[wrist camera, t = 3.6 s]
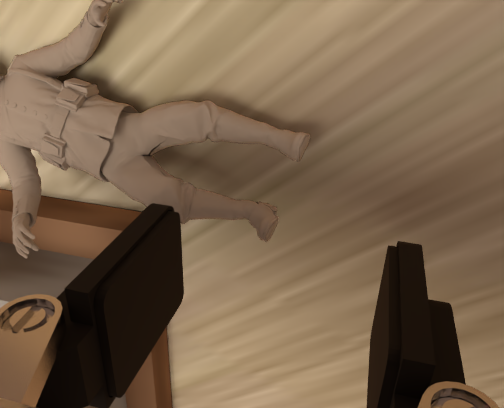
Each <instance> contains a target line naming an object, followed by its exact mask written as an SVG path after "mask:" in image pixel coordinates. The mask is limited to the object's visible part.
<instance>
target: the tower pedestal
mask: <svg viewBox="0 0 504 408" xmlns="http://www.w3.org/2000/svg"><path fill="white" fill-rule="evenodd" d="M141 213H142V212H138V211H132V210H126V209H120V208H113V207H107V206H101V205H95V204H89V203H82V202H76V201H70V200H64V199H57V198H51V197H45V196H41V200H40V204H39V208H38V212H37V219H36V223H35V224H34V226H32V227H31V228H30V231H31V233H32V234H33V235H34V236H35V239H33V241H34V243H35V244H36V245H37V246H38V247H39V250H38V251H35V250H33V249H32V248H29V247H28V246H25V245H24V246H25V247H26V248H27V249H28V250H29V254H27V253H26V254H27V255H28V258H27V259H26V258H24V257H23V256H21V255H20V254H19V253H18V252H17V250H16V247H15V245H14V244H13V231H12V214H13V194H12V191H8V190H1V189H0V308H1V307H2V306H4V305H5V304H7V303H8V302H10V301H13V300H15V299H17V298H20V297H24V296H27V295H35V294H43V295H50V296H52V297H55V298H57V297H58V296H59V295H60V294H61V293H62V292H63V291H64V290H65V289H64V288H65V287H66V286H67V285H68V284H69V283H70V282H71V281H72V280H73V279H74V278H75V277H77V276H78V275H79V274H80V273H81V272H82V271H83V270H84V269H85V268H86V267H87V266H88V265H89V264H90V263H91V262H92V261H93V260H94V259H95V258H96V257H97V256H98V255H99V254H100V253H101V252H102V251H103V250H104V249H105V248H106V247H107V246H108V245H109V244H110V243H111V242H112V241H113V240H114V239H115V238H116V237H117V236H118V235H119V234H120V233H121V232H122V231H123V230H124V229H125V228H126V227H127V226H129V225H130V224H131V223H132V222H133V221H134V220H135V219H136V218H137V217H138V216H139V215H140V214H141ZM84 408H97V407H93V406H87V407H84ZM109 408H172V398H171V384H170V370H169V357H168V343H167V329H166V328H165V330H164V332H163V333H162V335H161V336H160V338H159V340H158V341H157V343H156V344H155V346H154V348H153V349H152V351H151V352H150V354H149V356H148V357H147V359H146V360H145V362H144V364H143V365H142V367H141V368H140V370H139V372H138V373H137V375H136V376H135V378H134V380H133V381H132V383H131V384H130V386H129V388H128V389H127V391H126V392H125V394H124V395H123V396H122V397H121V398H117V397H116V398H115V400H114V401H113V403H112V404H111V406H110V407H109Z"/></svg>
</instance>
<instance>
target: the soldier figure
mask: <svg viewBox="0 0 504 408" xmlns="http://www.w3.org/2000/svg"><path fill="white" fill-rule="evenodd" d="M112 2H118V3H122V2H123V0H94V1H92V3H91V5H90V7H89V9H88V11H87V12H86V13H85V16H84V18H83V19H82V21H81V22H80V24H79V25H78V26H77V27H76V28H74V29H73V31H72V32H70V33H69V35H68V37H65V38H64V39H62V40H61V41H60V42H57V43H55V44H53V45H48V46H45V47H42V48H40V49H37V50H33V51H30V52H27V53H25V54H22V55H15V57H14V58H13V60H12V62H11V64H10V66H9V68H8V69H7V71H8V72H7V74H6V75H5V76H0V163H1V165H2V167H3V168H4V170H5V171H6V172H7V175H8V177H9V179H10V184H11V186H12V188H13V189H12V194H13V214H12V231H13V244H14V245H15V247H16V250H17V252H18V253H19V254H20V255H21V256H23V257H24V258H26V259H27V258H28V255H27V254H29V250H28V249H27V248H26V247H25V246H28V247H29V248H32V249H33V250H35V251H38V250H39V247H38V246H37V245H36V244H35V243H34V241H33V239H35V236H34V235H33V234H32V233H31V231H30V228H31V227H32V226H34V224H35V223H36V219H37V212H38V208H39V204H40V200H41V178H40V176H39V174H38V169H37V167H36V160H35V157H34V156H33V155H32V153H31V149H33V150H36V151H39V154H40V156H41V157H42V158H43V159H44V160H45V161H47V162H49V163H51V164H53V165H55V166H57V167H59V168H61V169H63V170H65V171H66V170H67V168H68V167H70V166H71V167H73V168H75V169H79V170H83V171H85V172H87V173H88V174H90V175H92V176H94V177H95V178H97V179H99V180H101V181H104V182H111V183H112V184H114V185H115V186H116V187H117V188H119V189H120V190H122V191H123V192H125V193H126V194H127V195H128V196H129V197H130V198H132V199H133V200H135V201H138V202H141V203H143V204H144V205H145V206H146V207H148V206H149V205H150V204H152V203H155V204H162V205H168V206H172V207H173V208H174V211H175V212H178V213H179V215H180V223H182V224H185V223H186V222H188V221H189V220H192V219H229V220H236V219H244V218H245V219H248V220H249V222H250V223H251V225H252V226H253V227H255V228H256V230H257V234H258V237H259V238H260V239H261V240H264V241H265V242H267V241H268V240H269V239H270V238H271V236H272V234H273V232H274V230H275V228H276V226H277V223H278V219H279V218H278V216H276V212H277V207H275V206H271V205H270V204H268V203H262V202H254V201H250V200H235V199H232V198H229V197H226V196H223V195H220V194H217V193H214V192H210V191H207V190H203V189H196V188H195V187H194V186H193V185H192V184H190V183H183V181H182V180H181V179H179V178H175V177H173V176H172V175H170V174H168V173H167V172H166V171H165V170H164V169H163V168H162V167H161V166H159V165H158V163H157V161H156V160H155V158H154V157H153V156H152V155H153V154H154V153H156V152H158V151H160V150H162V149H165V148H168V147H170V146H176V145H184V144H189V143H192V142H204V141H205V140H207V139H208V138H209V139H210V140H211V141H213V142H219V141H227V142H234V143H244V144H264V145H267V146H269V147H272V148H275V149H279V151H280V152H281V153H282V154H284V155H286V156H288V157H289V158H290V159H292V160H296V161H297V162H298V161H300V160H301V158H302V156H303V154H304V152H305V150H306V148H307V145H308V143H309V140H310V134H308V133H304V132H298V133H295V132H292V131H290V130H287V129H285V130H281V129H277V128H275V127H273V126H270V125H269V124H267V123H264V122H259V121H256V120H253V119H251V118H248V117H245V116H243V115H240V114H238V113H235V112H233V111H231V110H228V109H225V108H222V107H219V106H217V105H216V104H214V103H213V102H211V101H209V100H205V101H203V102H194V101H188V100H184V101H178V102H171V103H165V104H161V105H157V106H154V107H152V108H150V109H148V110H146V111H144V112H142V113H138V112H137V110H136V109H135V108H134V107H132V106H131V105H129V104H125V103H118V102H114V101H111V100H109V99H106V98H103V97H101V96H100V95H97V94H99V89H97V85H96V84H92V83H89V82H85V81H83V80H80V79H76V78H72V79H69V80H65V81H64V83H62V82H61V81H59V80H58V79H56V78H58V76H63V75H66V74H68V73H69V72H70V71H71V70H73V69H75V68H76V67H77V66H78V65H82V64H84V63H85V62H86V61H87V60H88V59H89V58H90V57H91V56H92V55H93V53H94V51H95V50H96V48H97V46H98V45H99V43H100V40H101V37H102V35H103V32H104V30H105V28H106V27H107V24H108V19H109V16H108V15H107V13H108V11H109V10H110V7H111V5H112ZM150 151H151V153H150ZM24 245H25V246H24ZM26 253H27V254H26Z"/></svg>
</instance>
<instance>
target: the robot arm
mask: <svg viewBox="0 0 504 408" xmlns="http://www.w3.org/2000/svg"><path fill="white" fill-rule="evenodd" d="M64 289H65V290H64V291H63V292H62V293H61V294H60V295H59V296H58V297H57V298H55V297H52V296H50V295H43V294H35V295H27V296H24V297H20V298H17V299H15V300H13V301H10V302H8V303H7V304H5V305H4V306H2V307H1V308H0V408H84V407H87V406H93V407H97V408H109V407H110V406H111V404H112V403H113V401H114V400H115V398H116V397H117V398H121V397H122V396H123V395H124V394H125V392H126V391H127V389H128V388H129V386H130V384H131V383H132V381H133V380H134V378H135V376H136V375H137V373H138V372H139V370H140V368H141V367H142V365H143V364H144V362H145V360H146V359H147V357H148V356H149V354H150V352H151V351H152V349H153V348H154V346H155V344H156V343H157V341H158V340H159V338H160V336H161V335H162V333H163V332H164V330H165V328H166V327H167V325H168V324H169V322H170V320H171V319H172V317H173V316H174V314H175V312H176V311H177V309H178V308H179V306H180V304H181V302H182V299H183V294H184V287H183V266H182V245H181V224H180V215H179V213H178V212H175V211H174V208H173V207H172V206H168V205H162V204H155V203H152V204H150V205H149V206H148V207H147V208H146V209H145V210H144V211H143V212H142V213H141V214H140V215H139V216H138V217H137V218H136V219H135V220H134V221H133V222H132V223H131V224H130V225H129V226H127V227H126V228H125V229H124V230H123V231H122V232H121V233H120V234H119V235H118V236H117V237H116V238H115V239H114V240H113V241H112V242H111V243H110V244H109V245H108V246H107V247H106V248H105V249H104V250H103V251H102V252H101V253H100V254H99V255H98V256H97V257H96V258H95V259H94V260H93V261H92V262H91V263H90V264H89V265H88V266H87V267H86V268H85V269H84V270H83V271H82V272H81V273H80V274H79V275H78V276H77V277H75V278H74V279H73V280H72V281H71V282H70V283H69V284H68V285H67V286H66V287H65V288H64ZM367 408H499V407H498V405H497V404H496V403H495V402H494V401H493V400H492V399H490V398H489V397H488V396H487V395H486V394H484V393H482V392H481V391H479V390H477V389H475V388H473V387H471V386H468V385H466V383H465V378H464V372H463V367H462V361H461V356H460V350H459V345H458V339H457V334H456V328H455V323H454V317H453V312H452V307H451V305H450V304H449V303H445V302H440V301H434V300H429V299H428V295H427V286H426V277H425V269H424V260H423V251H422V245H419V244H413V243H407V242H400V241H398V243H397V246H396V247H395V246H388V249H387V254H386V259H385V264H384V269H383V274H382V280H381V285H380V290H379V295H378V300H377V305H376V310H375V316H374V321H373V326H372V332H371V339H370V356H369V375H368V393H367Z"/></svg>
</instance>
